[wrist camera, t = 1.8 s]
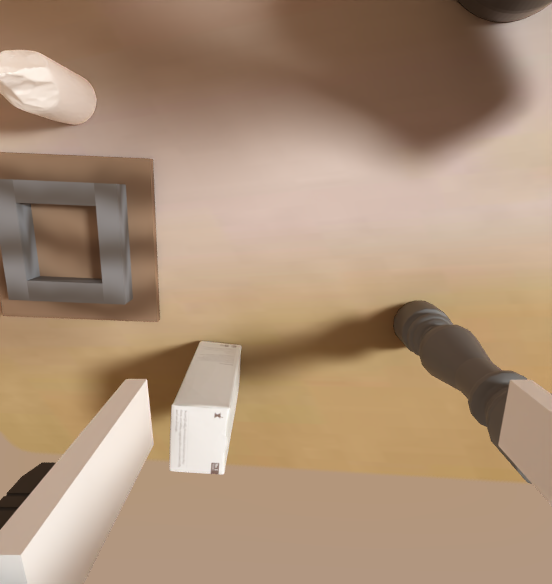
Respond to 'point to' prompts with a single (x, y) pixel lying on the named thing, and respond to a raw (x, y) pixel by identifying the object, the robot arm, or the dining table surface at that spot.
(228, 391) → the skincare box
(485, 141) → the dining table surface
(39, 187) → the socket
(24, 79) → the white bottle-shaped piece
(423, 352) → the candle holder
